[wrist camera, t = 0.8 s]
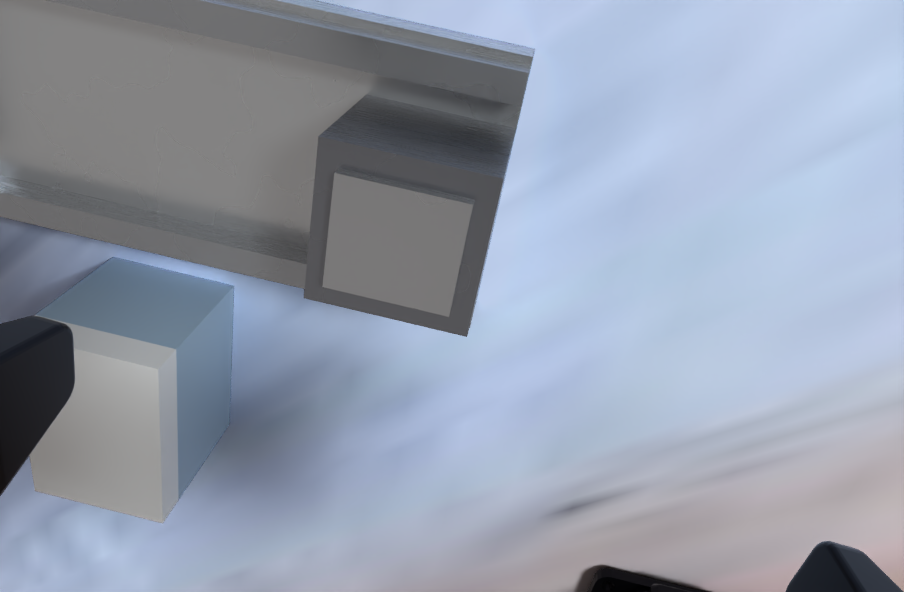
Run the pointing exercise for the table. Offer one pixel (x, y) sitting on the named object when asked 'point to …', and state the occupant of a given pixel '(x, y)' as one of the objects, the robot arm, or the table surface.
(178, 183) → the din rail
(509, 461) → the table surface
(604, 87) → the table surface
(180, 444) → the block
